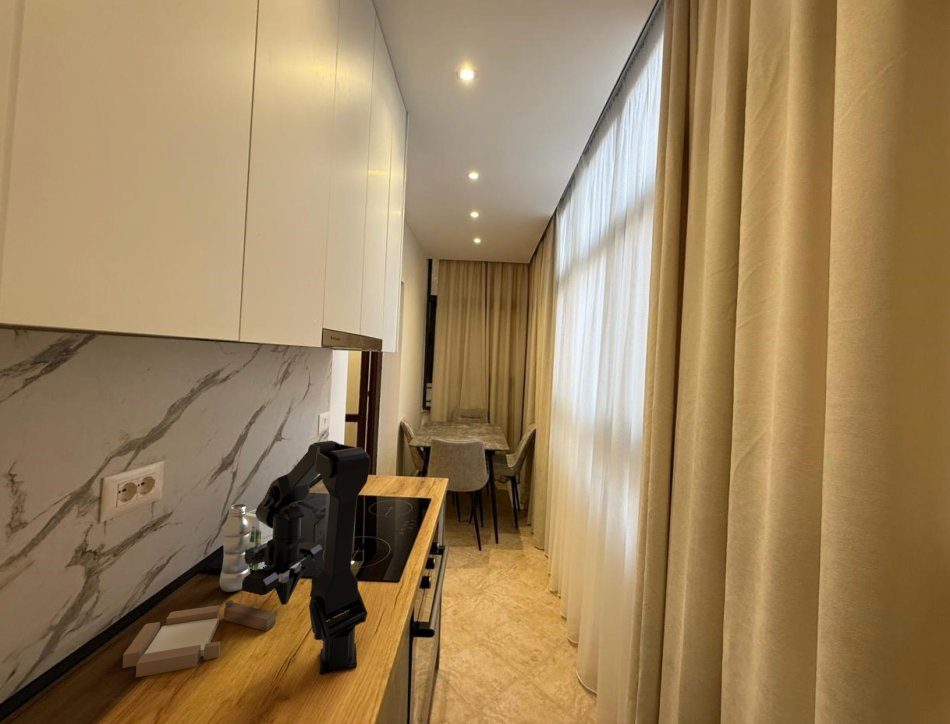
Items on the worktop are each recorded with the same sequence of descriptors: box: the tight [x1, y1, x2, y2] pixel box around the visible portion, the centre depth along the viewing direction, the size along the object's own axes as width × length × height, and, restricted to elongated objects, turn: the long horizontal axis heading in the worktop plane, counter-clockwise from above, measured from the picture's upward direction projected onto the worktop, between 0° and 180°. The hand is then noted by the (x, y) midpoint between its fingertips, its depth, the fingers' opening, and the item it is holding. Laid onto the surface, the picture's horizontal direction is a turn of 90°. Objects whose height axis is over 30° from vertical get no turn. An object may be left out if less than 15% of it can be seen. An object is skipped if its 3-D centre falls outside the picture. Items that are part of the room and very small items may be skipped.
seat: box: [122, 604, 221, 678], centre depth 79 cm, size 15×15×2 cm
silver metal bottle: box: [219, 503, 252, 593], centre depth 99 cm, size 6×7×20 cm
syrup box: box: [245, 508, 273, 571], centre depth 110 cm, size 6×6×14 cm
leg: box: [223, 599, 277, 632], centre depth 86 cm, size 12×2×3 cm, turn 74°
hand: (284, 603), depth 91 cm, fingers closed
